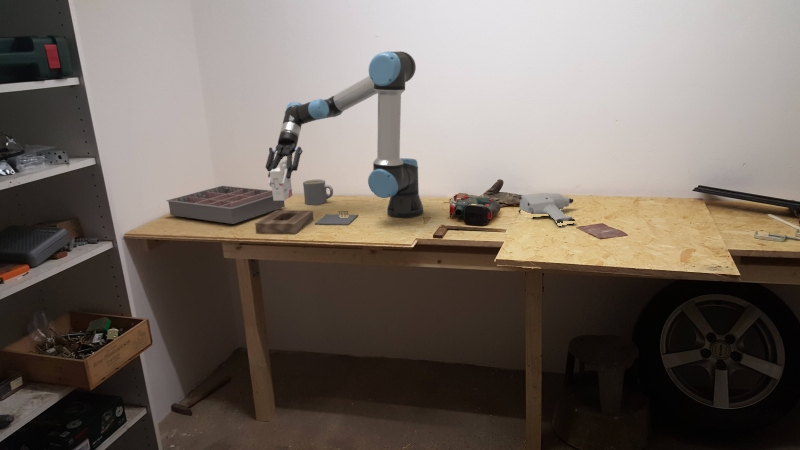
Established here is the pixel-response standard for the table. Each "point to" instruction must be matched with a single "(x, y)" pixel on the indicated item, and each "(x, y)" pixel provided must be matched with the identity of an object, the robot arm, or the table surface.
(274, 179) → the ink cartridge box
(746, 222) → the table surface
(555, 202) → the impact wrench
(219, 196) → the organizer tray
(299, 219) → the cartridge holder
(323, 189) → the coffee mug
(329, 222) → the rubber mat
